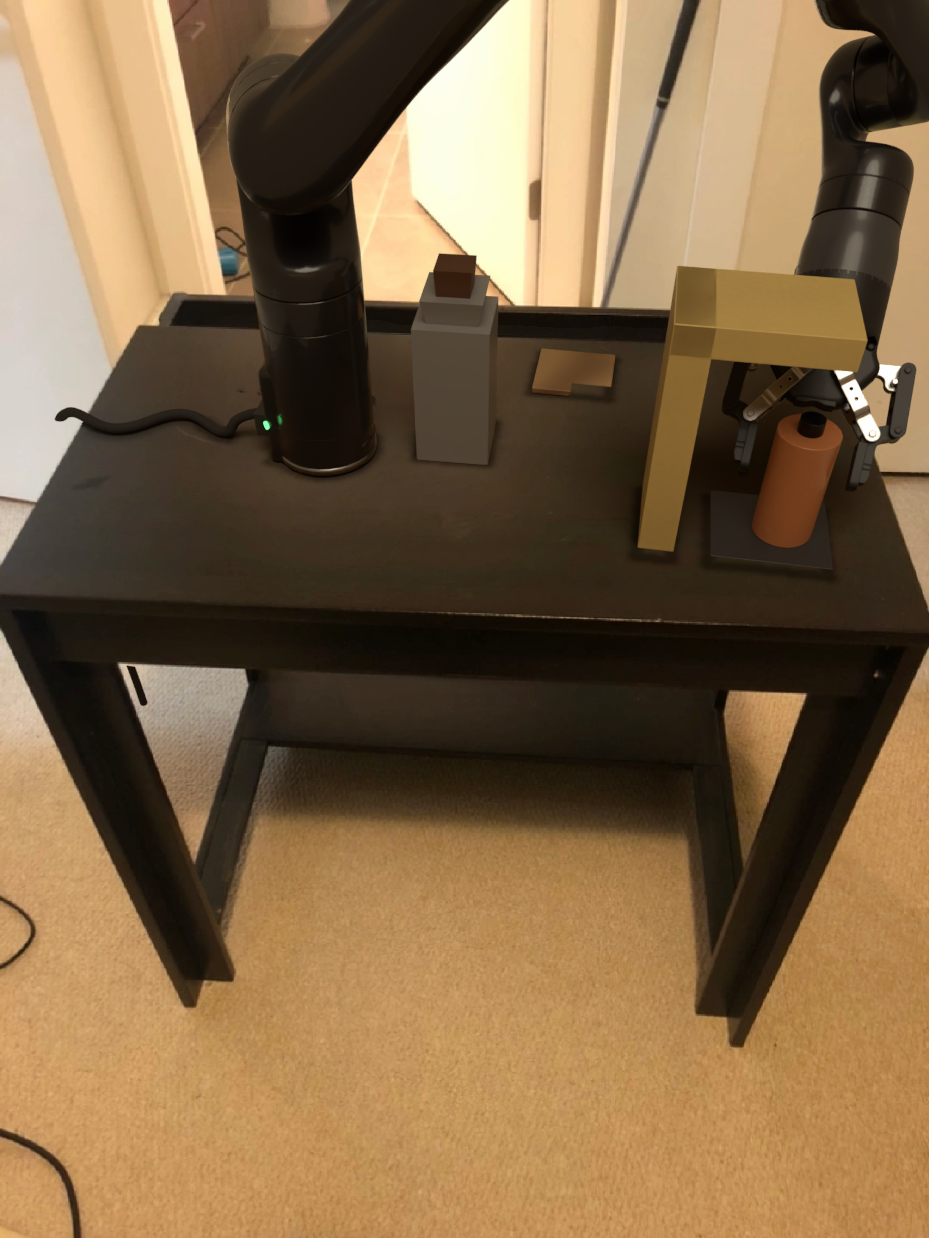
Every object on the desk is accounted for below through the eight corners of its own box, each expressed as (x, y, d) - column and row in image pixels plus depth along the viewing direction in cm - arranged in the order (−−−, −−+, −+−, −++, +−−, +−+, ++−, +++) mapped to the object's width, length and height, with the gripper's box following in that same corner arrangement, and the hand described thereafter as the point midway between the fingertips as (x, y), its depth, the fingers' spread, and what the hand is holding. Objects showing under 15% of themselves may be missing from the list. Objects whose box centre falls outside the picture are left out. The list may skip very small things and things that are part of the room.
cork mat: (531, 392, 101) (531, 387, 101) (541, 353, 107) (541, 348, 106) (609, 400, 100) (610, 395, 100) (615, 359, 106) (615, 354, 105)
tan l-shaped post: (636, 556, 83) (673, 323, 68) (641, 491, 90) (677, 265, 74) (830, 578, 81) (914, 344, 66) (822, 510, 88) (897, 282, 72)
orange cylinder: (752, 544, 83) (782, 433, 75) (750, 507, 86) (779, 397, 78) (813, 551, 82) (850, 440, 74) (809, 514, 86) (844, 403, 78)
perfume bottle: (495, 424, 97) (499, 247, 84) (487, 465, 92) (490, 284, 80) (428, 419, 98) (421, 243, 85) (416, 459, 93) (408, 279, 80)
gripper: (755, 253, 77) (709, 456, 78) (947, 279, 74) (898, 490, 75) (749, 287, 84) (707, 471, 85) (924, 311, 81) (879, 503, 82)
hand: (796, 480), depth 80 cm, fingers open, 8 cm apart
